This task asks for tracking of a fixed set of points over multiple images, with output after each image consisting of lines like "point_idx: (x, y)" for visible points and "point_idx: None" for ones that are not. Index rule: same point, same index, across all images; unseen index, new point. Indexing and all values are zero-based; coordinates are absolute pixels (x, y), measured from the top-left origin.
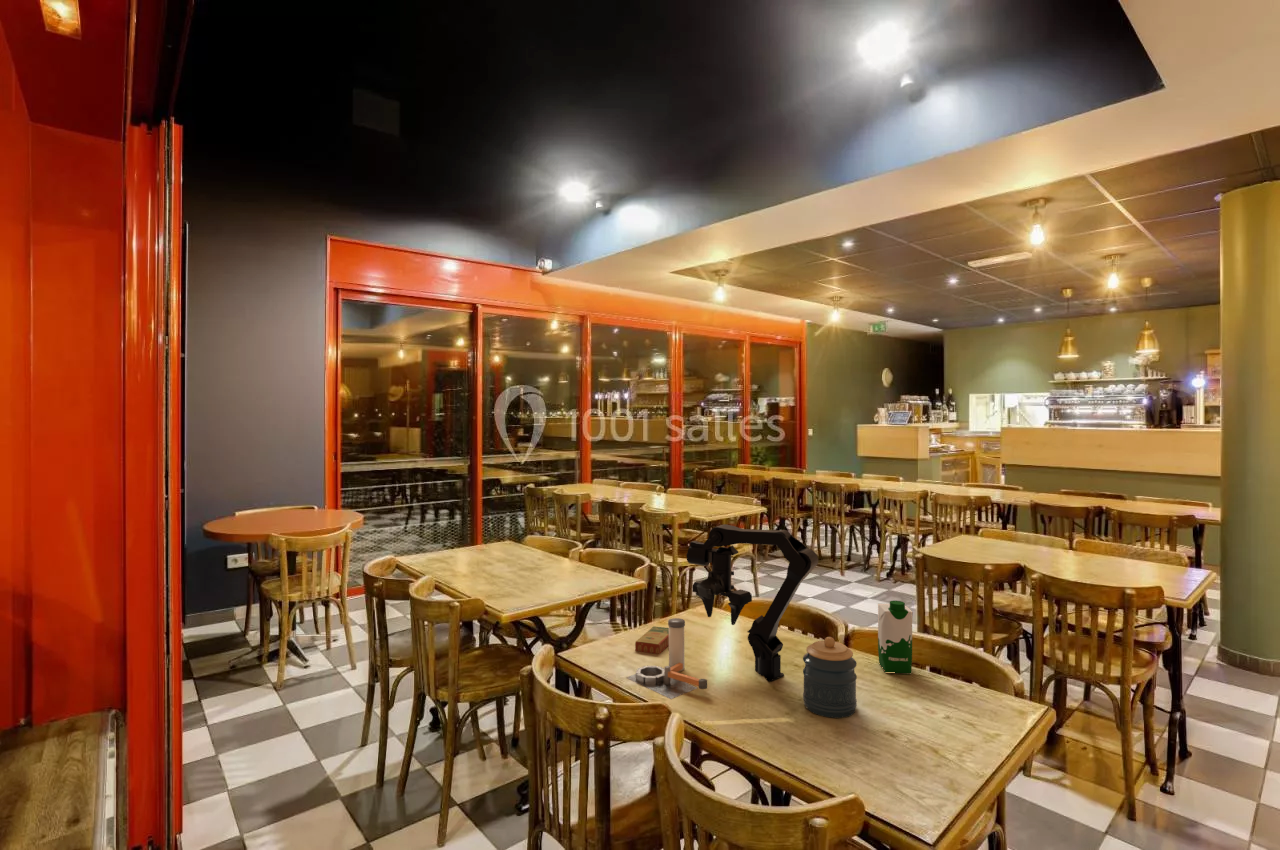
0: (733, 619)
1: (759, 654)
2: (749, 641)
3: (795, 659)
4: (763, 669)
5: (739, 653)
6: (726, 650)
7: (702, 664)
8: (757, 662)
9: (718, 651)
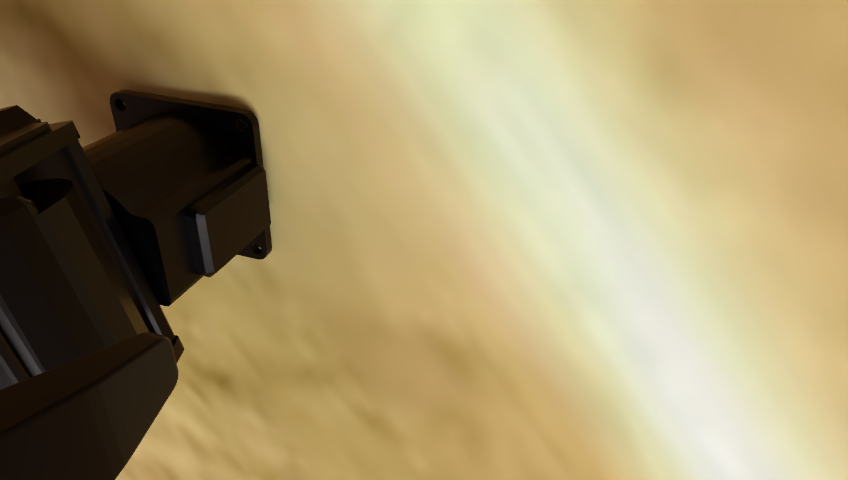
0: (27, 387)
1: (8, 130)
2: (46, 205)
3: (273, 442)
4: (129, 129)
5: (563, 394)
6: (680, 403)
7: (711, 25)
8: (192, 181)
9: (731, 361)
